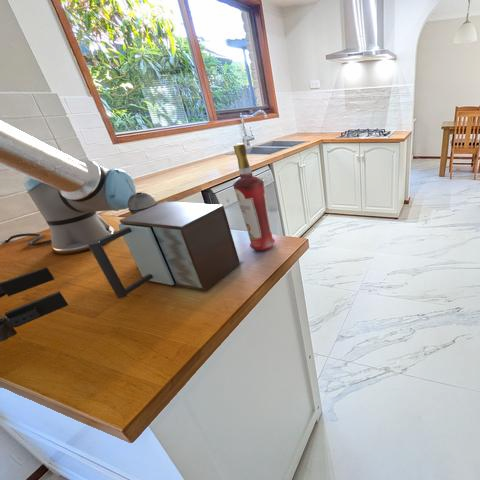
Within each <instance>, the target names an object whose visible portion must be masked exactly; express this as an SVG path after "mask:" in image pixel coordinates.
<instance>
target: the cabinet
mask: <svg viewBox="0 0 480 480" xmlns="http://www.w3.org/2000/svg"><path fill="white" fill-rule="evenodd" d="M119 224H123V225H132V226H140V227H149V228H151V230H152V233H153V235H154V237H155V240H156V242H157V244H158V247H159V249H160V251H161V254H162V256H163V258H164V261H165V263H166V265H167V268H168V270H169V272H170V275H171V277H172V279H173V282H174V284H173V285H172V286H177V287H181V288H186V289H187V288H188V289H193V290H196V291H203V292H207V291H208V290H209V289H210V288H212V287H213V286H214V285H215V284H216V283H218V282H219V281H220V280H221V279H222V278H224V277H225V276H226V275H228V274H229V273H230V272H232V270H234V269H235V268H236V267H237V266H239V265H240V264H241V262H240V259H239V255H238V251H237V248H236V245H235V241H234V238H233V233H232V230H231V227H230V224H229V220H228V217H227V213H226V210H225V206H224V205H223V204H211V203H198V202H183V201H170V200H165V201H162V202H161V203H157V205H155V206H153V207H150V208H148V209H145V210H143V211H141V212H138V213H136V214H133V215H132V214H130V215H129V216H126V217H123V218H121V219H119Z"/></svg>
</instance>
